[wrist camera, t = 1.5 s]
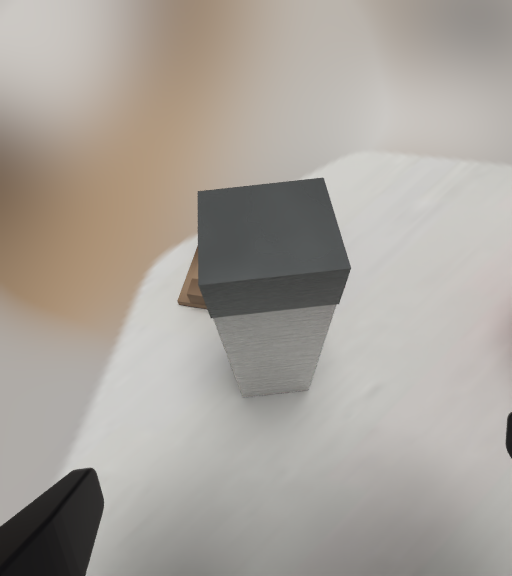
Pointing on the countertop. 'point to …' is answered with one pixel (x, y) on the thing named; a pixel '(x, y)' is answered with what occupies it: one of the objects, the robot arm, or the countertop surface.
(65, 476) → the robot arm
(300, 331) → the grey dark-topped prism
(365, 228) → the countertop surface
